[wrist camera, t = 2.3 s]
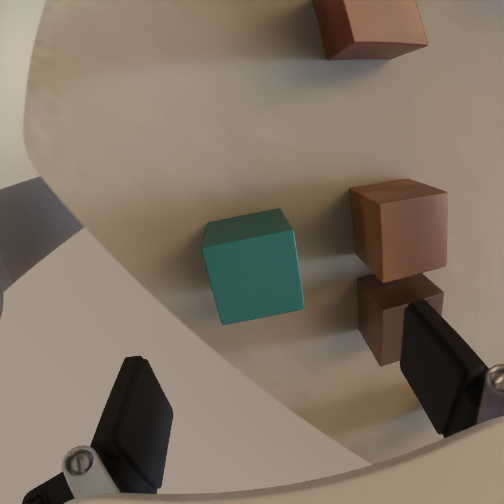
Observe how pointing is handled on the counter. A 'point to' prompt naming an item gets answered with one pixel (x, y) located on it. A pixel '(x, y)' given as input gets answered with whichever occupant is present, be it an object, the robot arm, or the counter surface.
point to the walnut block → (391, 311)
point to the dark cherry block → (369, 28)
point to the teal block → (253, 266)
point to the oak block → (400, 228)
